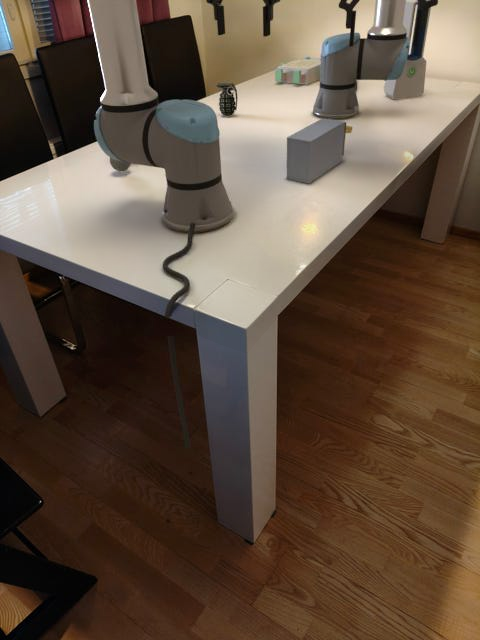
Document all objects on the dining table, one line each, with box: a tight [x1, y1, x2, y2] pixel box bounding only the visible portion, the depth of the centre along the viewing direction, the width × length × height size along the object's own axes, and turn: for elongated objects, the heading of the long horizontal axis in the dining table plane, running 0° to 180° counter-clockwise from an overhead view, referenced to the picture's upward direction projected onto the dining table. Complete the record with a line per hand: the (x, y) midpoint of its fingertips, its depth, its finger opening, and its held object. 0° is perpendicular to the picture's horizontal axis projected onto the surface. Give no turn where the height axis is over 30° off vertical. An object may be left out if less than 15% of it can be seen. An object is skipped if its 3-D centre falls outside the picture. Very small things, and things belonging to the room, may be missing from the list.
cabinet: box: [286, 118, 346, 185], centre depth 123 cm, size 18×6×10 cm, turn 144°
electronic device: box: [383, 0, 432, 100], centre depth 169 cm, size 12×8×30 cm, turn 105°
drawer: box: [342, 121, 353, 157], centre depth 126 cm, size 22×5×8 cm, turn 144°
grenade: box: [215, 82, 238, 117], centre depth 166 cm, size 7×6×10 cm
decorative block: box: [274, 56, 321, 86], centre depth 206 cm, size 26×6×20 cm
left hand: (243, 35), depth 129 cm, fingers open, 13 cm apart
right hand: (382, 45), depth 108 cm, fingers open, 13 cm apart
